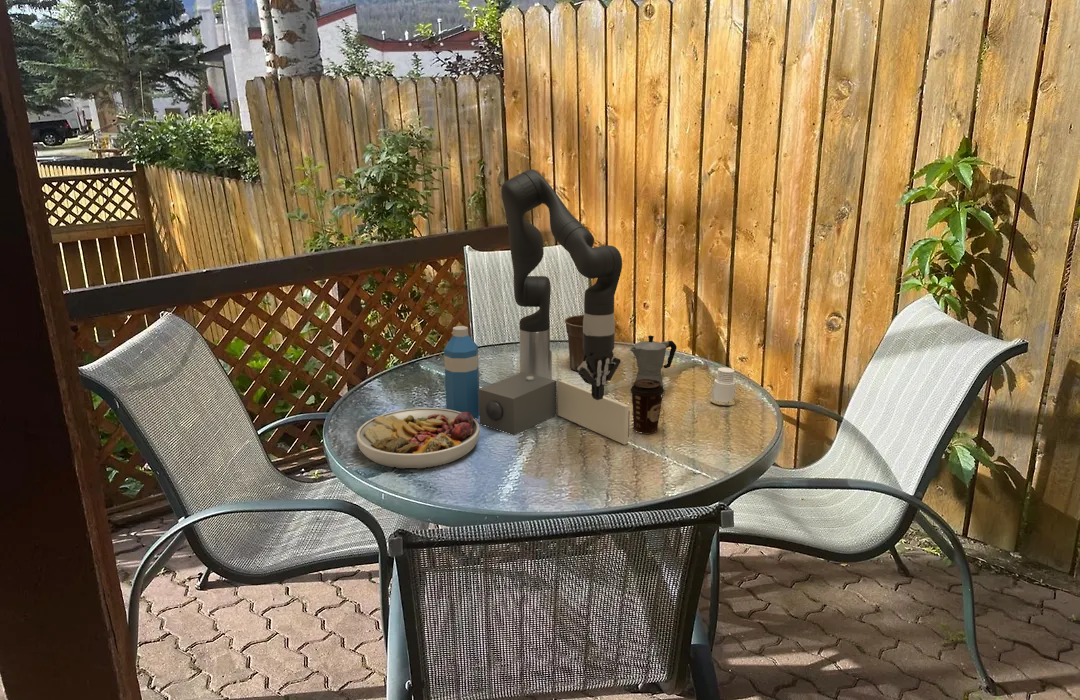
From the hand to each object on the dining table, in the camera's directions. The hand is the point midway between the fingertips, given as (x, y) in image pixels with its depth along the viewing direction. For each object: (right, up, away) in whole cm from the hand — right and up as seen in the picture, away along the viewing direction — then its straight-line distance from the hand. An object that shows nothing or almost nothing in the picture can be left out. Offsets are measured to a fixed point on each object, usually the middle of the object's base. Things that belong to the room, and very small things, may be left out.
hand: (597, 398), depth 187 cm
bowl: (-44, -13, +4) cm, 46 cm away
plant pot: (+2, +6, +64) cm, 65 cm away
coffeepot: (+19, -1, +40) cm, 45 cm away
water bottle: (-35, -6, +24) cm, 43 cm away
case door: (-1, -9, +14) cm, 17 cm away
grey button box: (-20, -7, +21) cm, 30 cm away
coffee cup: (+14, -9, +14) cm, 21 cm away
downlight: (+38, -3, +33) cm, 51 cm away
